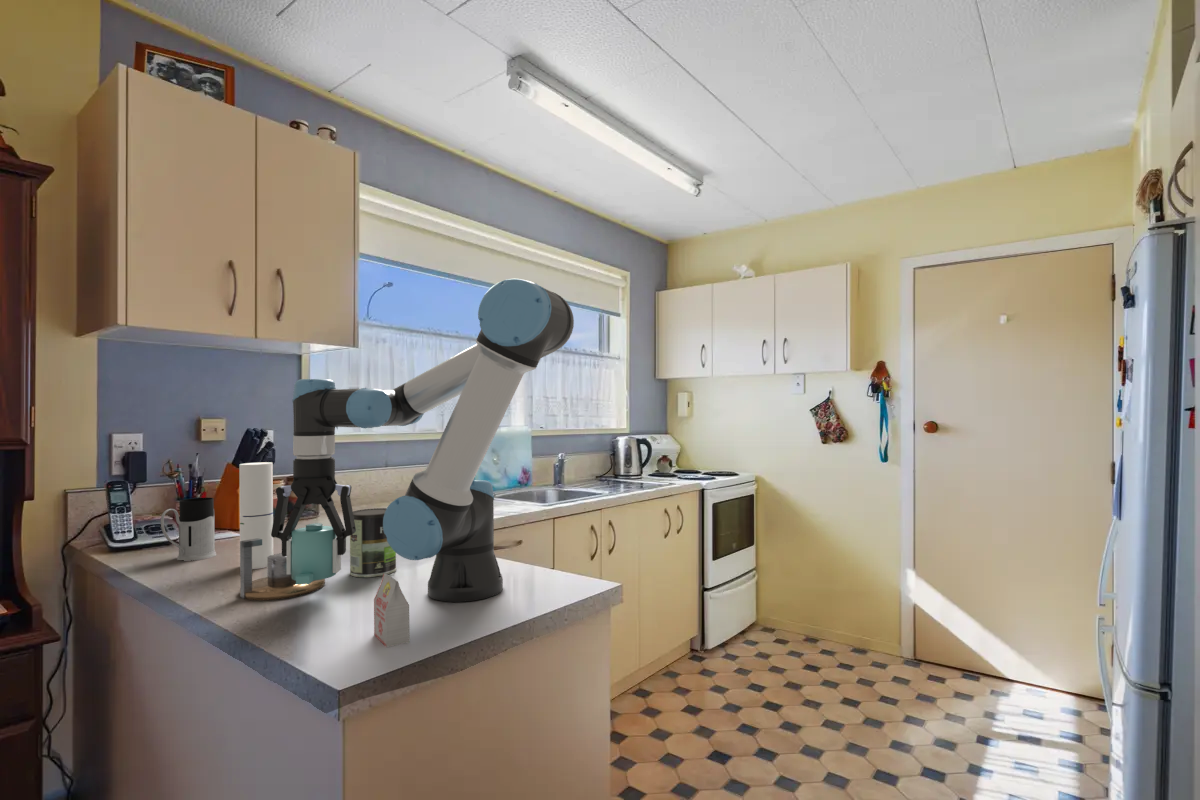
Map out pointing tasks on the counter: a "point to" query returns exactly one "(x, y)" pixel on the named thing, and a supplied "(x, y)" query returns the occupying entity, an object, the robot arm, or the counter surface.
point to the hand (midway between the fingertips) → (314, 571)
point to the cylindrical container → (257, 509)
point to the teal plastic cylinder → (312, 553)
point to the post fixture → (270, 577)
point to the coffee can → (370, 545)
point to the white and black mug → (194, 529)
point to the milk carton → (391, 613)
